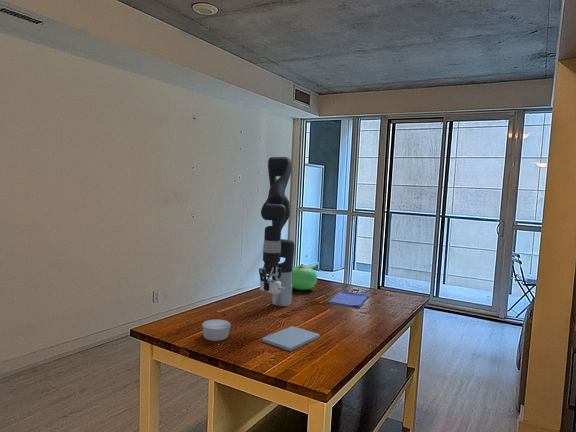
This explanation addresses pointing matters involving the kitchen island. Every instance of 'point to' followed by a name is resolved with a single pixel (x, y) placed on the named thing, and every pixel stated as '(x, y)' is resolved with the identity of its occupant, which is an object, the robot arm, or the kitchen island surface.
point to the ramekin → (216, 329)
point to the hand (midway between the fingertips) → (270, 289)
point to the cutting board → (290, 338)
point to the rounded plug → (272, 286)
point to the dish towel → (349, 299)
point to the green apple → (303, 277)
